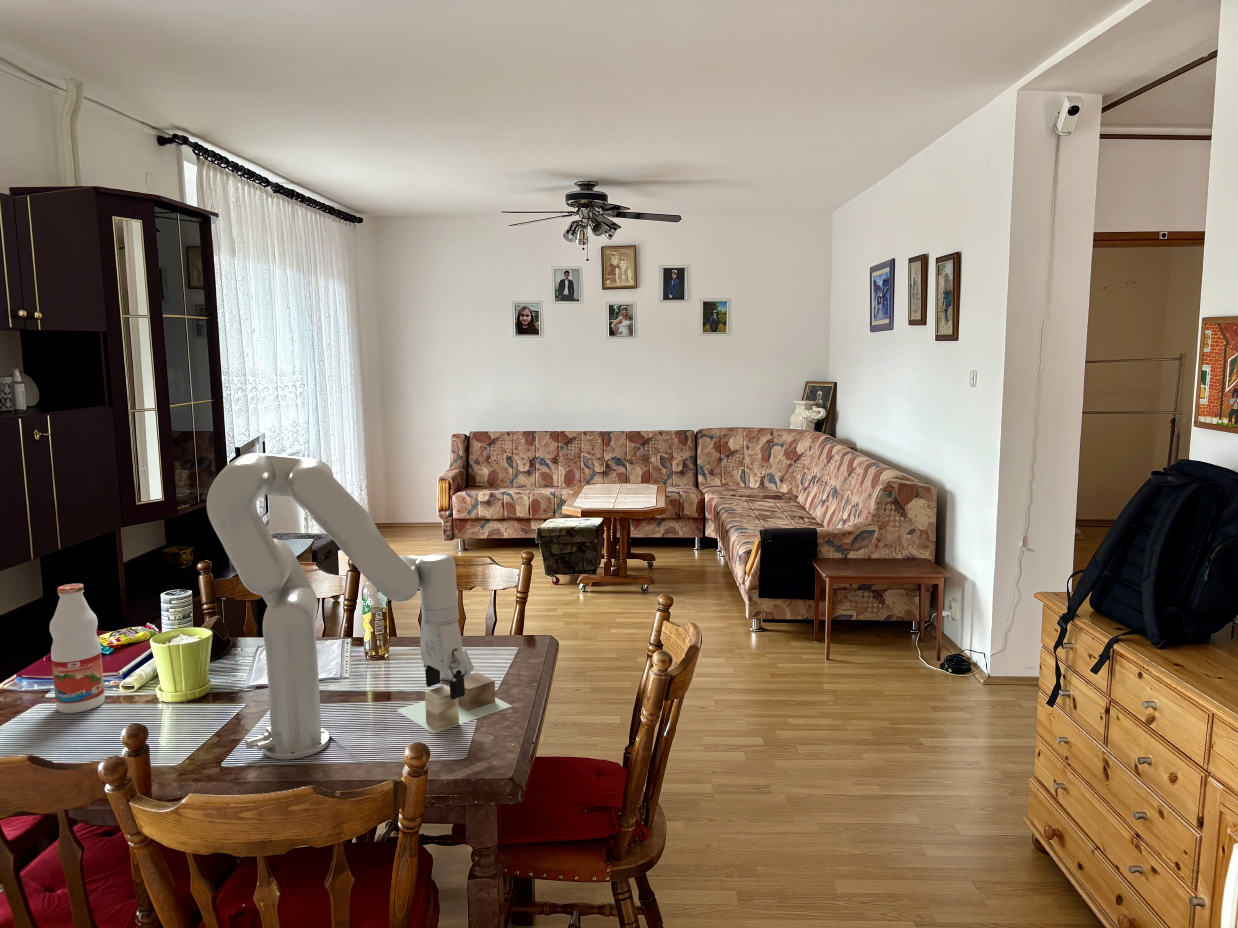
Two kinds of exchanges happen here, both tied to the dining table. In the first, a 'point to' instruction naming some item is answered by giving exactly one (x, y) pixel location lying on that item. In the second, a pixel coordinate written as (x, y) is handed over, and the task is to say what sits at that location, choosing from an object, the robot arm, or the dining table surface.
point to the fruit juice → (76, 653)
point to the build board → (419, 713)
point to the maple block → (441, 708)
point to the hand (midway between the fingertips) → (445, 690)
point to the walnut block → (477, 691)
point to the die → (445, 674)
